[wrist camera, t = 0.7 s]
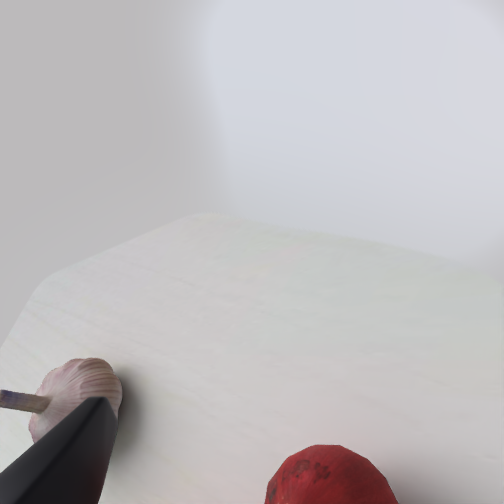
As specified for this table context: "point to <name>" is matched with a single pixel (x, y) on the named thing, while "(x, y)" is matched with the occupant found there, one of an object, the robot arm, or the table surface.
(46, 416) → the garlic bulb
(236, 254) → the table surface
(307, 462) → the onion
